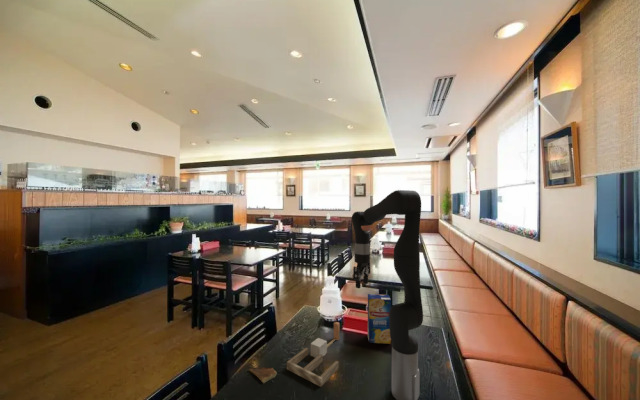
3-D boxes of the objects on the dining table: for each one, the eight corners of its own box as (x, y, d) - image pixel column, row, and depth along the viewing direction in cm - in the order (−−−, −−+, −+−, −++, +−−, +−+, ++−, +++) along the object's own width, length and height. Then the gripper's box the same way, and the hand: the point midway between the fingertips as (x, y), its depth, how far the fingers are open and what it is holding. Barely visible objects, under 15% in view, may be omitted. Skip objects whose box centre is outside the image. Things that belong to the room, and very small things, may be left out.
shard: (248, 371, 105) (248, 367, 105) (264, 363, 110) (264, 359, 110) (262, 385, 97) (262, 380, 97) (279, 375, 103) (279, 371, 103)
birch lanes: (338, 368, 106) (338, 361, 106) (320, 387, 96) (320, 379, 96) (305, 354, 117) (305, 347, 117) (286, 369, 106) (286, 361, 106)
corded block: (342, 339, 130) (342, 323, 130) (319, 359, 113) (319, 341, 113) (333, 336, 132) (333, 321, 133) (310, 355, 116) (310, 338, 116)
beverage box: (391, 343, 126) (391, 299, 126) (368, 342, 127) (369, 298, 127) (388, 336, 133) (388, 294, 133) (367, 335, 134) (367, 293, 134)
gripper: (362, 255, 115) (362, 291, 115) (375, 251, 126) (375, 283, 126) (348, 253, 119) (348, 288, 119) (361, 249, 131) (361, 280, 130)
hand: (362, 285), depth 123 cm, fingers open, 8 cm apart
